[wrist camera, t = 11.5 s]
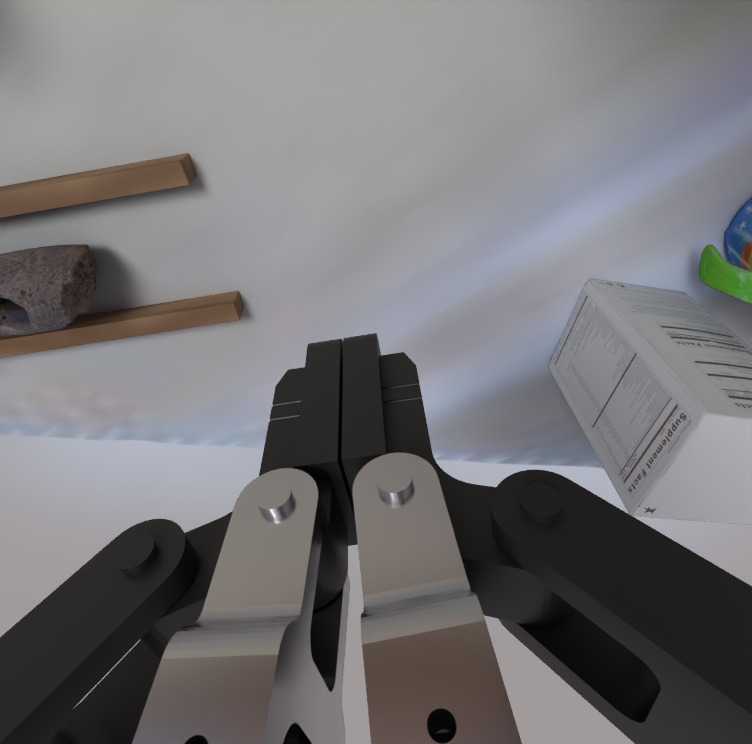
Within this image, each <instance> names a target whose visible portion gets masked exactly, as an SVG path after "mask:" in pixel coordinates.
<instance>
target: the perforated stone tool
mask: <svg viewBox="0 0 752 744" xmlns="http://www.w3.org/2000/svg"><path fill="white" fill-rule="evenodd" d="M95 288H96V280H95V273H94V265H93V258H92V255H91V251H90V249H89V246H88V245H56V246H47V247H39V248H32V249H26V250H21V251H14V252H10V253H4V254H0V336H8V335H25V334H33V333H38V332H45V331H50V330H57V329H61V328H64V327H65V326H66V325H67V324H69V323H72V322H73V321H74V320H75V318H76V317H77V316H78V313H83V312H87V311H89V309H90V299H89V295H90V294H91V293H92V292H93V291H94V290H95Z"/></svg>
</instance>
